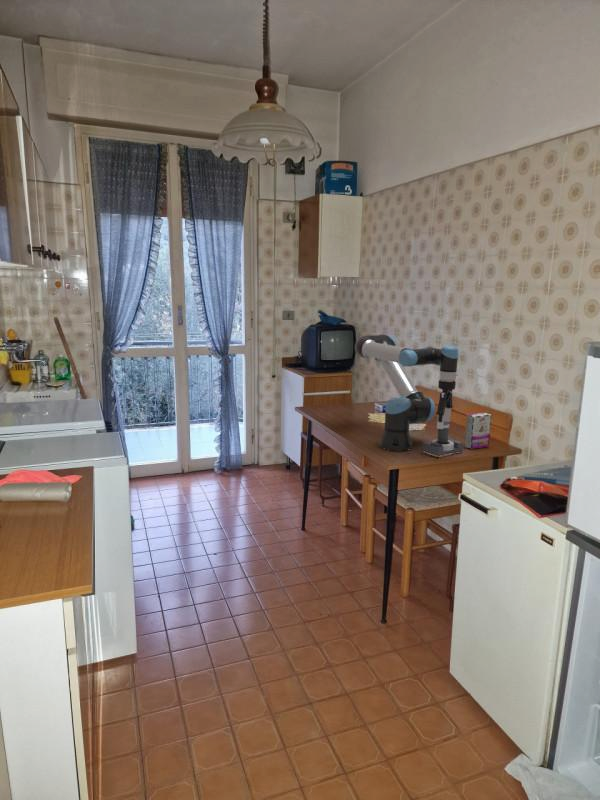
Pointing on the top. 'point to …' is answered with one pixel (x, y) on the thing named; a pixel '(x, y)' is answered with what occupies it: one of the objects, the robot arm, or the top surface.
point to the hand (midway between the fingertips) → (443, 425)
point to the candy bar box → (477, 430)
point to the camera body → (442, 447)
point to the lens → (443, 434)
